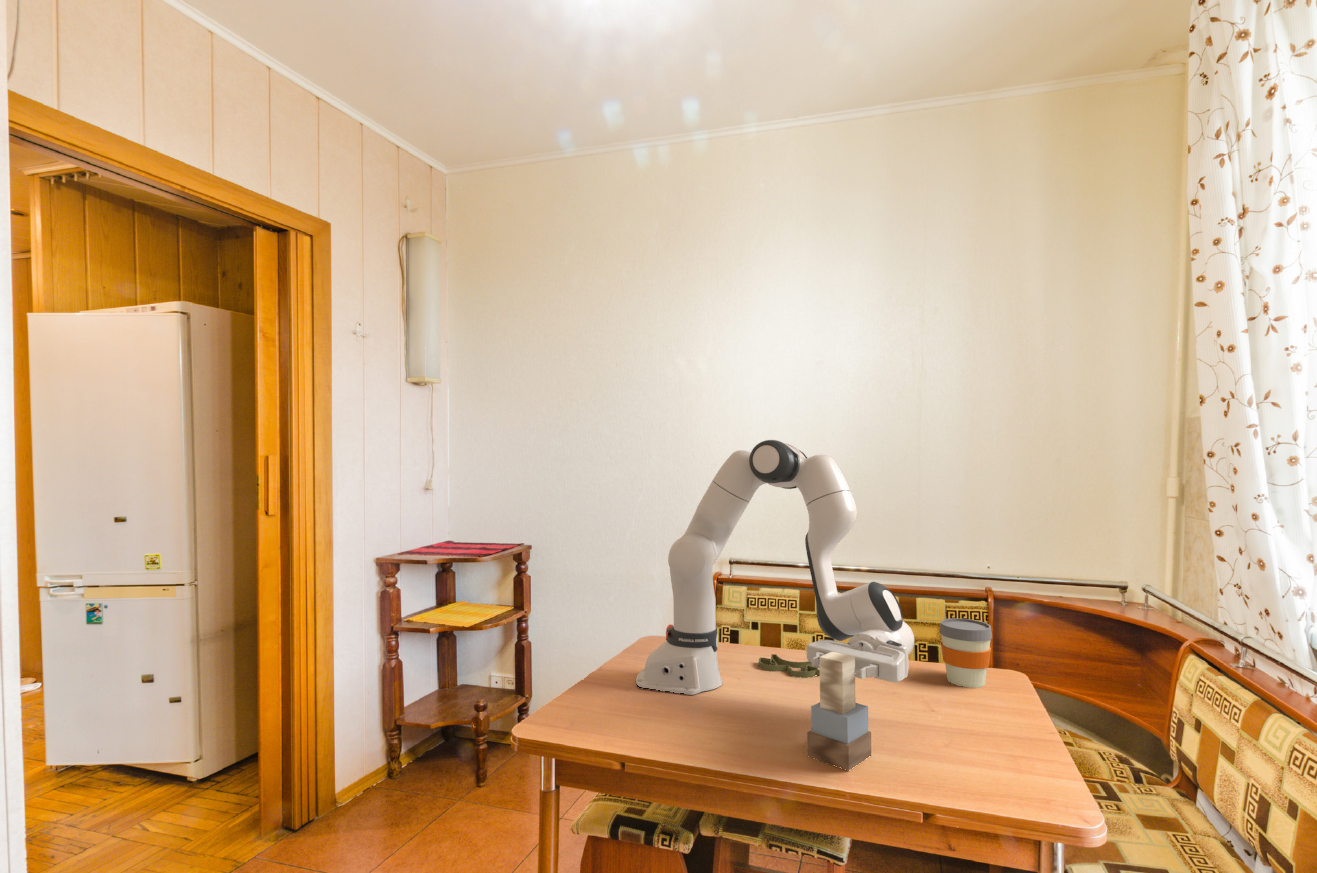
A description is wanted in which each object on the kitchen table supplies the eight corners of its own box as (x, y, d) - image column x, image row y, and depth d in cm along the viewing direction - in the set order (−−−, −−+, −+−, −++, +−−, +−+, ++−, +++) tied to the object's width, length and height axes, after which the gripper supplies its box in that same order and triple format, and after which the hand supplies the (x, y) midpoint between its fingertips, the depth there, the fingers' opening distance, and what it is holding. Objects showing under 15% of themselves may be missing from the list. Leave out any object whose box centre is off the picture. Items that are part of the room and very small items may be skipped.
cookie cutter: (827, 668, 188) (827, 661, 188) (817, 682, 178) (817, 674, 178) (765, 659, 196) (765, 652, 196) (752, 672, 185) (752, 665, 185)
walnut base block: (807, 757, 134) (807, 732, 134) (830, 743, 140) (830, 719, 140) (848, 772, 127) (848, 746, 128) (871, 757, 134) (871, 732, 134)
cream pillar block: (820, 707, 134) (819, 657, 134) (832, 700, 137) (832, 651, 137) (843, 714, 130) (842, 662, 130) (855, 707, 134) (854, 656, 134)
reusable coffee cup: (1002, 683, 175) (1001, 625, 175) (975, 694, 168) (974, 633, 168) (957, 670, 185) (957, 615, 185) (930, 679, 178) (929, 622, 178)
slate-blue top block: (811, 731, 134) (811, 706, 134) (832, 720, 140) (832, 696, 140) (847, 744, 128) (847, 717, 129) (868, 731, 134) (868, 706, 134)
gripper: (824, 629, 151) (791, 642, 141) (915, 647, 137) (884, 663, 127) (825, 657, 151) (791, 672, 141) (915, 679, 136) (884, 697, 126)
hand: (836, 668), depth 133 cm, fingers open, 8 cm apart
